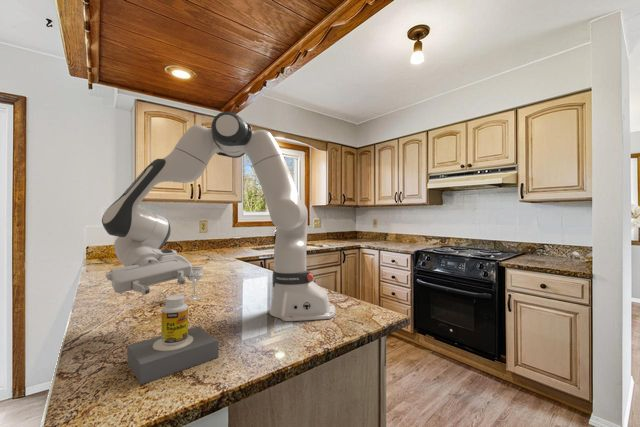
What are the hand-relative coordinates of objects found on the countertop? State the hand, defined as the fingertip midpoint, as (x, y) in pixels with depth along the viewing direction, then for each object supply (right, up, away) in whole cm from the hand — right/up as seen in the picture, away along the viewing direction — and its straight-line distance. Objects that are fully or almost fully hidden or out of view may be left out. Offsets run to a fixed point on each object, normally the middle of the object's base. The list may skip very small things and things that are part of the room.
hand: (165, 286), depth 80 cm
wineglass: (-8, -14, +38) cm, 41 cm away
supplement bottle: (+8, -10, -11) cm, 17 cm away
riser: (+8, -14, -11) cm, 20 cm away
